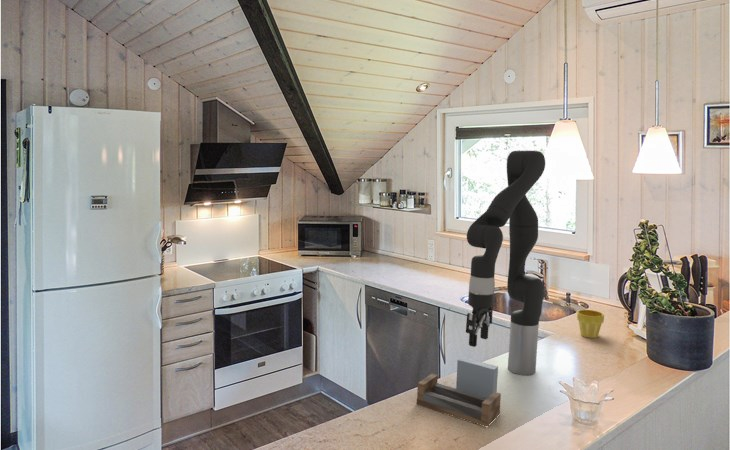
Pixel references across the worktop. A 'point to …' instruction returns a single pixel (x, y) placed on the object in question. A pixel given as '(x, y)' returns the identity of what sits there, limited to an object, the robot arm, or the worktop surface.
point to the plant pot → (590, 322)
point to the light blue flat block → (476, 377)
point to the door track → (486, 404)
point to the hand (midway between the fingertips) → (478, 342)
